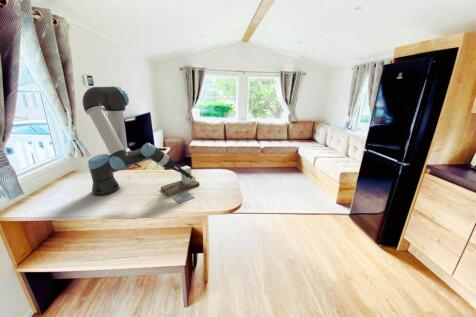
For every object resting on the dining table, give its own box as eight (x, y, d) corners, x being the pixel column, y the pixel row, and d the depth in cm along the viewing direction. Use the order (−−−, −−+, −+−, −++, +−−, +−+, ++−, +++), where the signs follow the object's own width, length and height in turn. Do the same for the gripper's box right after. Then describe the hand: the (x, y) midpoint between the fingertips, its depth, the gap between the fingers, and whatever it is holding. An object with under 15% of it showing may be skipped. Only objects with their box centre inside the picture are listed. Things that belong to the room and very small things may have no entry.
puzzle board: (161, 189, 136) (160, 186, 135) (190, 179, 149) (190, 177, 149) (168, 196, 127) (168, 193, 127) (199, 185, 141) (199, 182, 140)
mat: (171, 197, 126) (171, 196, 126) (186, 191, 133) (186, 191, 133) (179, 203, 119) (179, 202, 119) (194, 197, 126) (194, 196, 125)
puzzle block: (182, 185, 142) (180, 167, 137) (188, 182, 145) (187, 165, 140) (185, 187, 138) (184, 169, 134) (192, 185, 141) (190, 167, 137)
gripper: (154, 160, 134) (177, 175, 149) (170, 172, 116) (195, 187, 131) (160, 151, 136) (183, 166, 150) (178, 161, 118) (202, 177, 132)
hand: (189, 176), depth 140 cm, fingers open, 13 cm apart
